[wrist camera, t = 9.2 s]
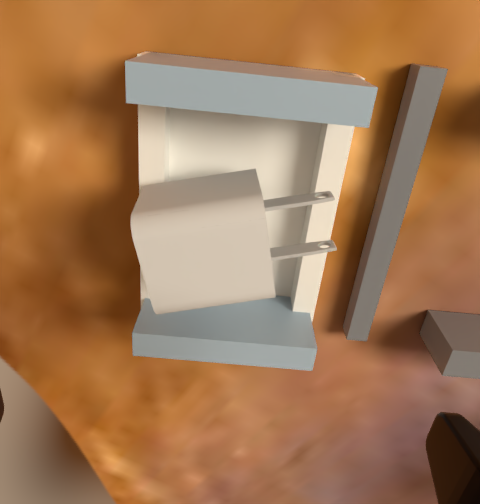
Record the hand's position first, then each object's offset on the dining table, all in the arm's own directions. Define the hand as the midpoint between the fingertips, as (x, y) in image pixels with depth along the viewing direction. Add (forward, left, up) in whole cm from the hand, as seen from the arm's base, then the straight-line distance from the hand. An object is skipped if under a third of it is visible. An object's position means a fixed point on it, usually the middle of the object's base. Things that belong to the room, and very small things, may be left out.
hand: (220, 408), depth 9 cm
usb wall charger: (0, 0, -11) cm, 11 cm away
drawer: (0, 0, -12) cm, 12 cm away
